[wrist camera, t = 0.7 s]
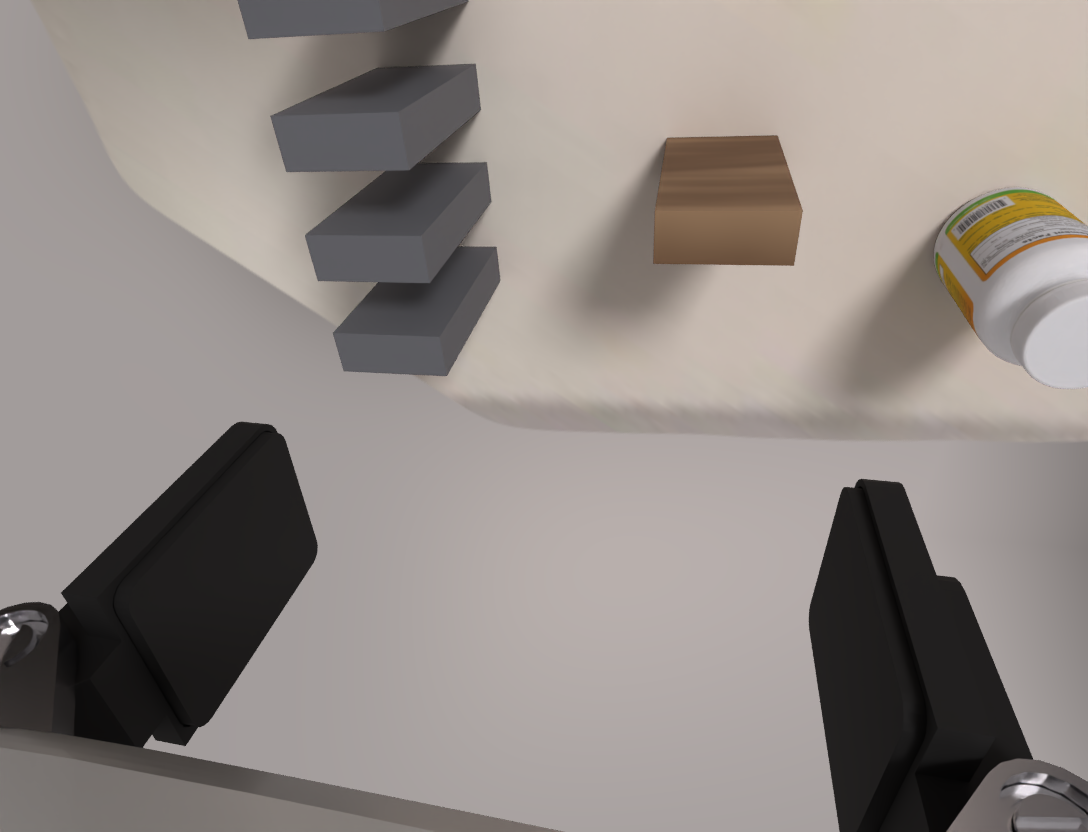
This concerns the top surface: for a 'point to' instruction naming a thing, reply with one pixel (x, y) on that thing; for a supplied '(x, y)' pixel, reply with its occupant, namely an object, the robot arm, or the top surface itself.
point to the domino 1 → (333, 15)
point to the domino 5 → (726, 203)
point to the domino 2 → (378, 119)
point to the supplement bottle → (1021, 281)
